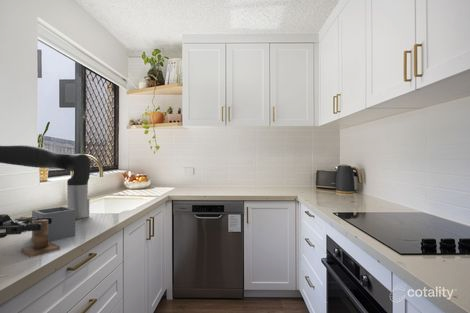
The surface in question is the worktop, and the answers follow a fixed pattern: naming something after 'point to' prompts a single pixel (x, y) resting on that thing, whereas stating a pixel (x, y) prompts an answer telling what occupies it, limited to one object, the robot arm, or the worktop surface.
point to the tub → (58, 222)
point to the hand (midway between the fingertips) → (46, 223)
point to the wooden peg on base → (41, 241)
